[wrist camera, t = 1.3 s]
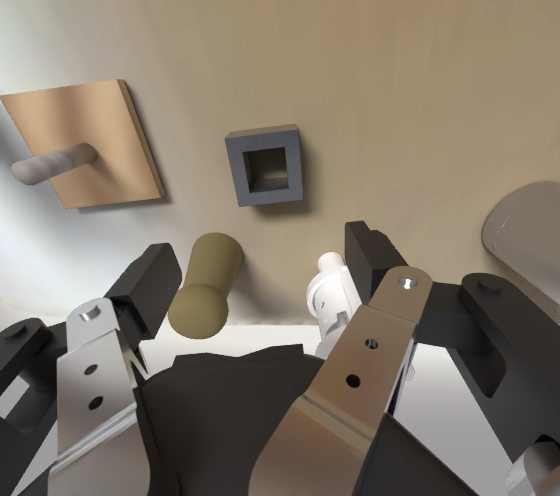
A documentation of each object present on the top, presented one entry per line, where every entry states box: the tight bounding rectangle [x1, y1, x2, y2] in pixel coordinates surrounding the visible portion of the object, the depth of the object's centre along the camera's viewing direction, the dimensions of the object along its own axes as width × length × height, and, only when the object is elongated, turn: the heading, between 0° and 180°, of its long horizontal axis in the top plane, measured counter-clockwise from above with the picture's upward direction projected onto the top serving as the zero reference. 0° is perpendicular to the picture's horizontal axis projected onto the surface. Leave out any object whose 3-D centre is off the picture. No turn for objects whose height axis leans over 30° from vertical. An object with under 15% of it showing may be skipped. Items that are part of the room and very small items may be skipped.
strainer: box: [306, 252, 415, 381], centre depth 26 cm, size 7×7×15 cm
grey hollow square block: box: [225, 124, 303, 207], centre depth 24 cm, size 6×6×4 cm
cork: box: [168, 233, 243, 339], centre depth 26 cm, size 6×6×11 cm
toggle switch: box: [0, 80, 165, 209], centre depth 21 cm, size 10×10×8 cm
